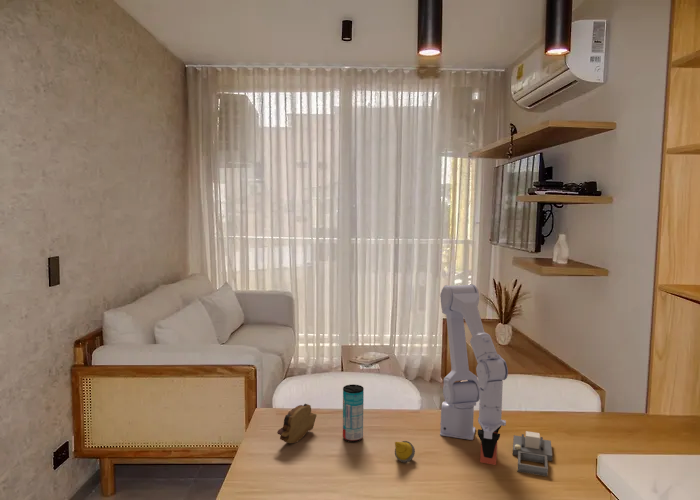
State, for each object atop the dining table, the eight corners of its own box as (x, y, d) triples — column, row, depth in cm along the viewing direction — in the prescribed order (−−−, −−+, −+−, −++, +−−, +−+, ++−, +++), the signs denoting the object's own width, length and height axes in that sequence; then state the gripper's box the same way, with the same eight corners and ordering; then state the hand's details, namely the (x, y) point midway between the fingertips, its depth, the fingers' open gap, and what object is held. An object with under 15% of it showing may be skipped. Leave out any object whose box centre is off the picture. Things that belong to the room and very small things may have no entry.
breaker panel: (512, 454, 140) (512, 446, 140) (513, 440, 149) (513, 432, 148) (552, 461, 137) (552, 452, 137) (550, 445, 145) (550, 438, 145)
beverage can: (357, 432, 153) (357, 383, 152) (366, 440, 148) (367, 390, 146) (339, 435, 151) (339, 386, 149) (348, 444, 145) (348, 393, 144)
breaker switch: (525, 447, 141) (525, 435, 141) (525, 442, 144) (525, 431, 144) (539, 449, 140) (539, 437, 140) (539, 444, 143) (539, 433, 143)
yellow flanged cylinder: (420, 462, 137) (406, 448, 130) (402, 468, 138) (387, 455, 131) (416, 443, 140) (402, 429, 134) (398, 449, 142) (384, 435, 135)
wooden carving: (304, 426, 157) (304, 394, 156) (317, 429, 155) (317, 397, 154) (274, 450, 142) (273, 415, 141) (288, 453, 140) (288, 418, 139)
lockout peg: (480, 462, 136) (481, 436, 135) (481, 455, 140) (482, 430, 139) (495, 464, 135) (496, 439, 134) (496, 457, 139) (497, 432, 138)
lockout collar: (517, 471, 132) (517, 464, 131) (517, 458, 138) (518, 451, 138) (547, 476, 129) (547, 469, 129) (546, 462, 136) (546, 455, 136)
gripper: (505, 416, 128) (503, 469, 129) (507, 395, 141) (505, 443, 143) (476, 412, 130) (474, 464, 131) (481, 392, 144) (479, 439, 145)
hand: (488, 453), depth 137 cm, fingers closed on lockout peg, 4 cm apart
